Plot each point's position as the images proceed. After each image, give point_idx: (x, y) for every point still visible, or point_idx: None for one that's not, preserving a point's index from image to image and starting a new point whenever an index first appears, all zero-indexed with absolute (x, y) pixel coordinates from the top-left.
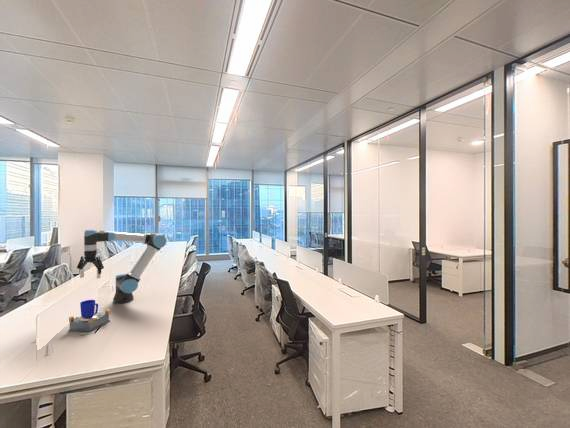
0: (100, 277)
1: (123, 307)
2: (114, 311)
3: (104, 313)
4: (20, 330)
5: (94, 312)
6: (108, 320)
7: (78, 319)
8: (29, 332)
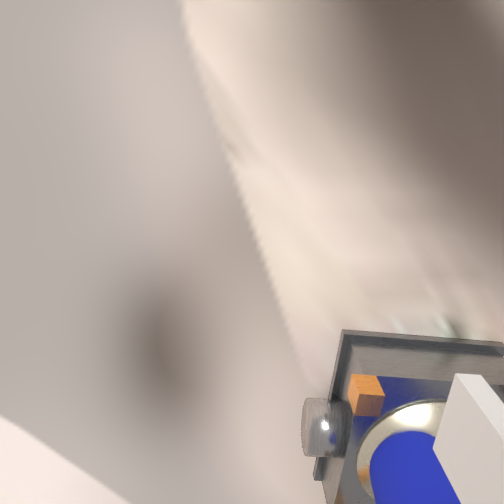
0: (483, 379)
1: (483, 34)
2: (441, 149)
3: (498, 395)
4: (6, 473)
5: (403, 380)
6: (497, 354)
7: (366, 491)
8: (93, 491)
